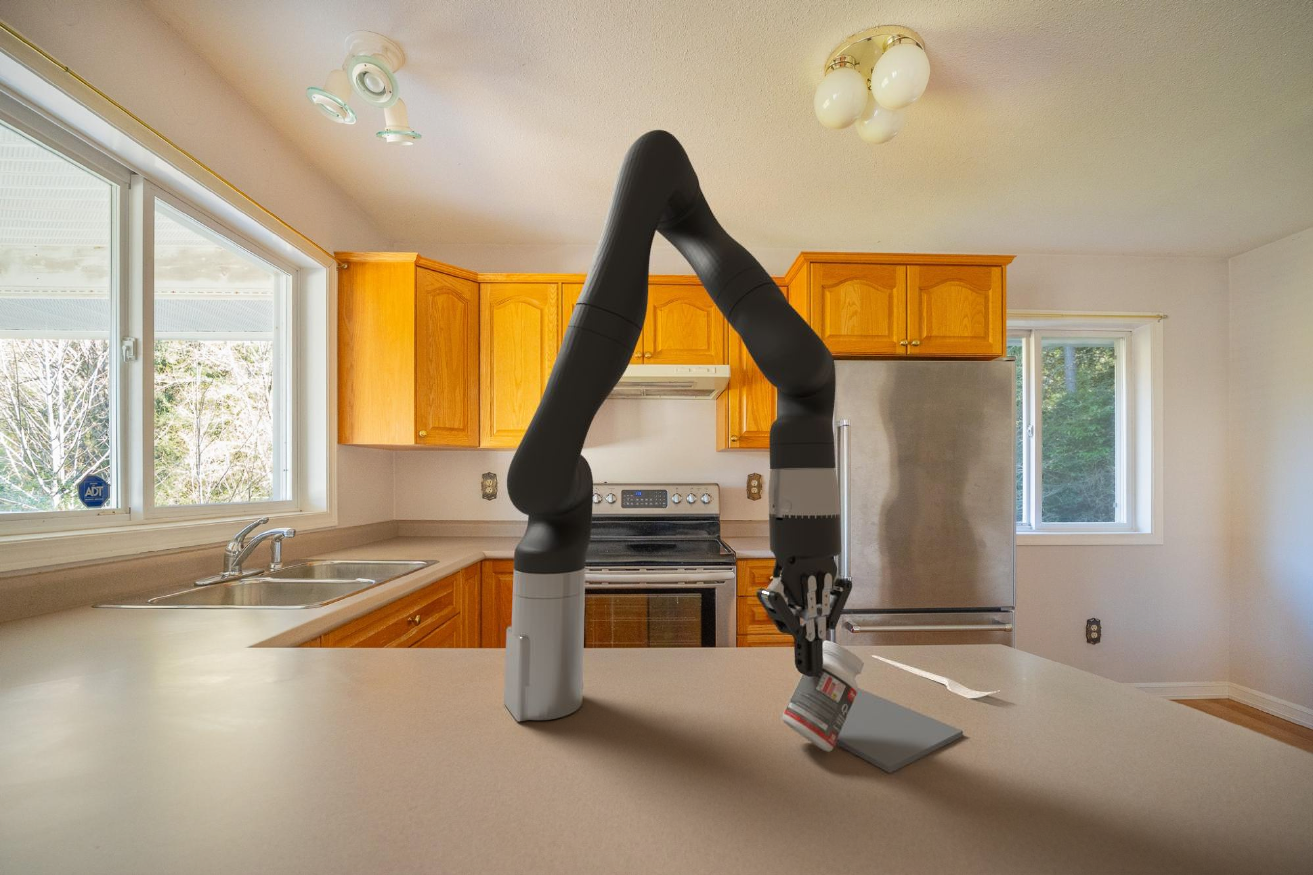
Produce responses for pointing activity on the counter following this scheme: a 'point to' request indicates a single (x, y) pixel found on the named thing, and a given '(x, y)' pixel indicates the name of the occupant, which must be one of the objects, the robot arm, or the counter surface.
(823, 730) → the pill bottle
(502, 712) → the counter surface
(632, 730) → the counter surface
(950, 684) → the fork
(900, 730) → the mat
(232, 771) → the counter surface
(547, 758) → the counter surface
